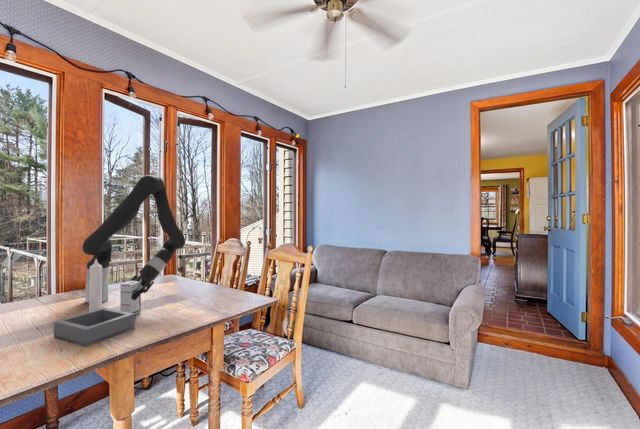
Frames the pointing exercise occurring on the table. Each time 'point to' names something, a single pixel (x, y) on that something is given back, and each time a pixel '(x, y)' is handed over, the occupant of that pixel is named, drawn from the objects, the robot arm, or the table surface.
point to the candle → (95, 287)
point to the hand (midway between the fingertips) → (127, 297)
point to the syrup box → (129, 297)
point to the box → (93, 326)
